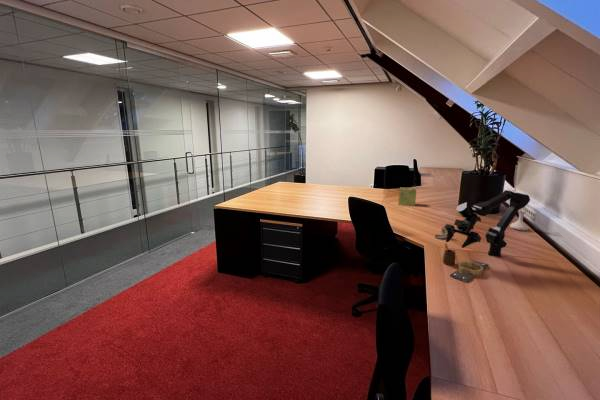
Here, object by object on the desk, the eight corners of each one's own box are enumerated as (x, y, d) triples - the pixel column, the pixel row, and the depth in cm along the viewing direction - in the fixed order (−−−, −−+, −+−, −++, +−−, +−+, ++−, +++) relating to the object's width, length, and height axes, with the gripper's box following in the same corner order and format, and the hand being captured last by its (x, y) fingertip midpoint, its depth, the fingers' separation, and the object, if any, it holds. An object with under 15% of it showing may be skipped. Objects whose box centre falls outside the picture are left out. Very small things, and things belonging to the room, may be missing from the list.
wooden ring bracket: (470, 260, 167) (470, 255, 166) (491, 267, 159) (492, 262, 158) (446, 275, 151) (447, 269, 150) (469, 283, 142) (470, 278, 142)
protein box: (415, 206, 285) (416, 190, 281) (398, 204, 290) (399, 189, 286) (415, 203, 294) (416, 188, 291) (398, 202, 300) (399, 187, 296)
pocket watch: (433, 237, 202) (434, 223, 200) (437, 234, 208) (439, 221, 206) (446, 240, 197) (447, 226, 194) (450, 237, 203) (451, 223, 200)
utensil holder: (457, 264, 162) (459, 244, 160) (447, 266, 161) (450, 245, 158) (449, 260, 168) (451, 240, 165) (439, 261, 166) (442, 241, 163)
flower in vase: (532, 231, 212) (538, 197, 206) (516, 231, 212) (522, 197, 207) (519, 225, 225) (525, 193, 219) (504, 225, 225) (509, 193, 219)
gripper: (448, 210, 170) (433, 231, 168) (481, 218, 154) (465, 242, 152) (455, 221, 176) (441, 242, 173) (487, 230, 160) (472, 253, 157)
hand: (454, 244), depth 164 cm, fingers open, 9 cm apart
